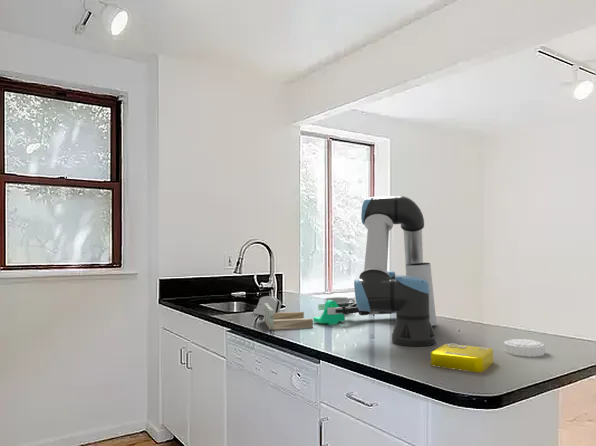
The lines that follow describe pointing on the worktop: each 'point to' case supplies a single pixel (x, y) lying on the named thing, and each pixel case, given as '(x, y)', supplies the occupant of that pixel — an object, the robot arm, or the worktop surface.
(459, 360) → the element tile
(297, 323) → the dock
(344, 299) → the teacup
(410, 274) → the speaker
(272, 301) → the grey rounded piece
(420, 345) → the robot arm
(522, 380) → the worktop surface
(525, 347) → the mooncake
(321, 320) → the camera mount
